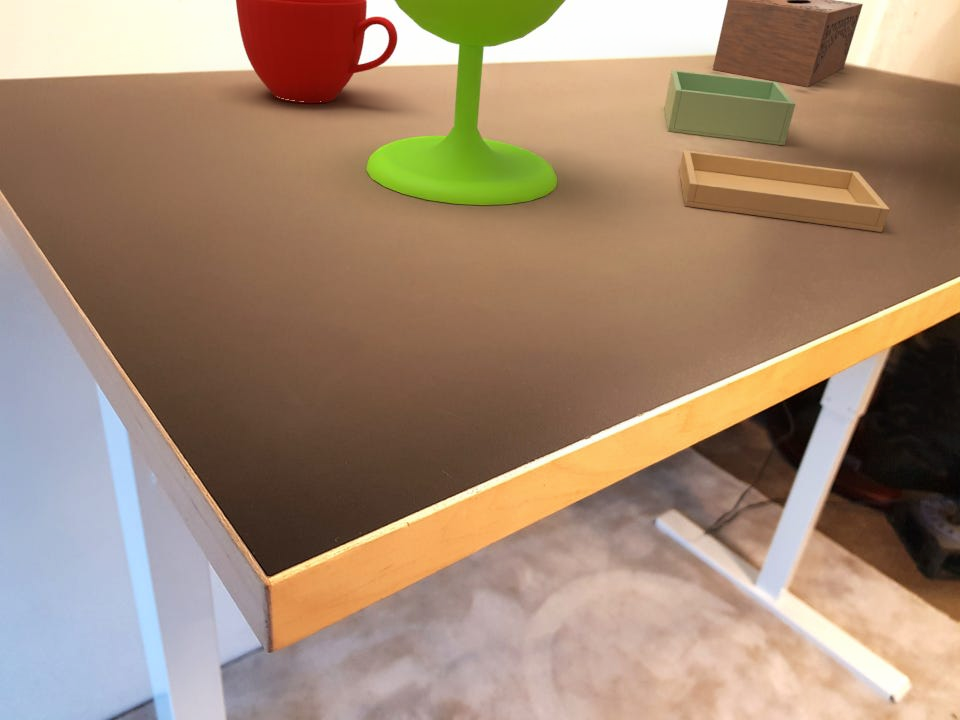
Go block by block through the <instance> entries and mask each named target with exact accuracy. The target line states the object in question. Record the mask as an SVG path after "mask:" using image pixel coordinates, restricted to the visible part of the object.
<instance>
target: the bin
mask: <svg viewBox="0 0 960 720" xmlns="http://www.w3.org/2000/svg"><path fill="white" fill-rule="evenodd" d="M669 76H670V77H669V81H668V85H667V86H668V87H667V92H666V97H665V102H664V107H663V109H664V113H665V120H666V127H667V131H668V132H672V133H680V134H686V135H687V134H688V135H696V136H703V137H704V136H705V137H711V138H721V139H728V140H737V141H745V142H754V143H759V144H768V145H776V146H785V145H786V141H787V137H788V133H789V130H790V126H791V122H792V119H793V116H794V112H795V108H796V103H795V101H794V100H793V98H791V97H790V96H789V94H788V93H787V92H786V91H785V89H784V88H783V87H782V86H781V84H780V83H779V82H777V81H772V80H764V79H756V78H755V79H753V78H744V77H736V76H728V75H720V74H711V73H710V74H709V73H702V72H694V71H693V72H692V71H684V70H675V69H672V70H670V75H669Z"/></svg>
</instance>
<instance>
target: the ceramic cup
mask: <svg viewBox="0 0 960 720" xmlns="http://www.w3.org/2000/svg"><path fill="white" fill-rule="evenodd" d="M235 4H236V5H235V6H236V13H237V21H238V26H239V31H240V36H241V41H242V44H243V48H244V51H245V54H246V56H247V59H248V61H249V63H250V65H251V67H252V69H253V70H254V72H255V74H256V75H257V76H258V78H259V80H260V81H261V82H262V83H263V84H264V86H265V87H266V88H267V89H268V90H269V91H270V92H271V93H272V96H273V97H274V98H276V99H278V100H281V101H286V102H291V103H298V104H299V103H300V104H320V103H322V104H323V103H328V102H331V101H334V100H336V99H337V96H338V95H339V94H340V92H341V91H343V90H344V88H345V87H346V86H347V85H348V83H349V82H350V80H351V79H352V77H353V76H354V74H358V73H363V72H366V71H369V70H372V69H376V68H378V67H380V66H381V65H383V64H385V63H386V62H387V61H388V60H389V59H390V58H391V57H392V56H393V54H394V52H395V50H396V47H397V44H398V32H397V28H396V26H395V25H394V23H393V22H392V21H391V20H390V19H388V18H386V17H384V16H370V17H368V18H367V11H368V10H367V7H368V5H367V4H368V1H367V0H235ZM374 25H379V26H382V27H383V28H385V30H386V32H387V35H388V41H387V42H388V43H387V46H386V48H385V50H384V51H383V53H382V54H380V56H378V57H377V58H375V59H373V60H371V61H368V62H364V63H360V64H359V62H360V60H361V57H362V52H363V47H364V42H365V33H366V30H368V28H370V27H371V26H374ZM273 94H274V95H275V96H274V95H273ZM276 96H278V97H280V98H278V97H276ZM281 98H284V99H281ZM285 99H289V100H285ZM290 100H295V101H290ZM299 101H304V102H299ZM320 101H321V102H320Z"/></svg>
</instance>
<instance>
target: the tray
mask: <svg viewBox="0 0 960 720" xmlns="http://www.w3.org/2000/svg"><path fill="white" fill-rule="evenodd" d="M678 172H679V177H680V183H681V189H682V194H683V195H682V196H683V202H684V206H685V207H691V208H698V209H705V210H713V211H718V212H719V211H721V212H726V213H727V212H728V213H734V214H743V215H751V216H758V217H766V218H773V219H779V220H788V221H795V222H801V223H802V222H804V223H810V224H817V225H825V226H833V227H840V228H848V229H854V230H855V229H856V230H864V231H870V232H878V233H882V232H883V230H884V227H885V226H884V225H885V224H886V220H887V218H888V215H889V213H890V208H889V206H888V204H886V203H885V202H884V201H883V199H882V198H881V197H880V196H879V194H877V193H876V191H875V190H874V189H873V188H872V187H871V185H869V183H868V182H867V181H866V180H865V178H864V177H863V176H862V175H861V174H860V172H858V171H853V170H847V169H839V168H830V167H823V166H815V165H807V164H799V163H791V162H784V161H783V162H782V161H774V160H769V159H768V160H766V159H759V158H753V157H752V158H750V157H745V156H744V157H743V156H734V155H726V154H719V153H710V152H704V151H697V150H696V151H695V150H687V149H683V151H682V155H681V159H680V163H679V169H678Z"/></svg>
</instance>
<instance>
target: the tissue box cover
mask: <svg viewBox="0 0 960 720" xmlns="http://www.w3.org/2000/svg"><path fill="white" fill-rule="evenodd" d="M863 5H864V4H863V3H859V2H852V1H844V0H727V2H726V7H725V11H724V16H723V20H722V25H721V30H720V34H719V39H718V41H717V42H718V43H717V47H716V52H715V57H714V61H713V65H712V70H713V71H718V72H723V73H728V74H735V75H740V76H746V77H750V78H755V79H760V80H765V81H772V82H778V83H784V84H788V85H795V86H799V87H800V86H801V87H804V88H805V87H806V88H808V87H810V86H813V85H814V84H816V83H818V82H820V81H822V80H824V79H826V78H828V77H829V76H831V75H834V74H835V73H837V72H839V71H841V70H843V69H844V68H845V65H846V63H847V62H846V61H847V59H848V55H849V52H850V48H851V45H852V41H853V38H854V35H855V32H856V29H857V28H856V27H857V25H858V22H859V19H860V15H861V12H862V9H863Z"/></svg>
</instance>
